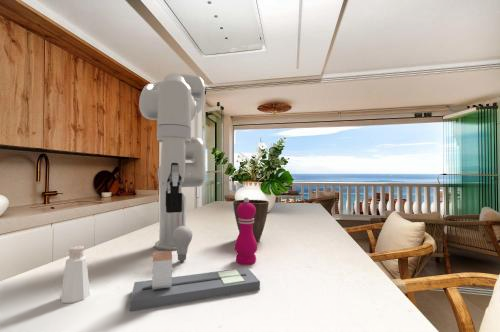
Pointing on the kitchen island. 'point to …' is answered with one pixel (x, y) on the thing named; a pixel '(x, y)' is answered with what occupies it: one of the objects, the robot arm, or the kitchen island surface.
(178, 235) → the lightbulb
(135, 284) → the fader panel
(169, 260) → the fader knob
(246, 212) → the pepper mill
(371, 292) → the kitchen island surface
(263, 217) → the plant pot
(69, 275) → the pepper shaker
